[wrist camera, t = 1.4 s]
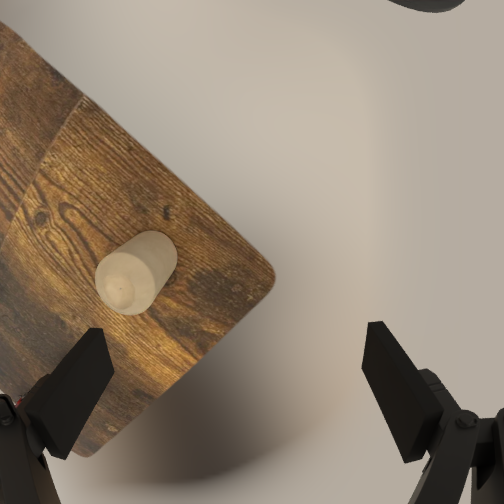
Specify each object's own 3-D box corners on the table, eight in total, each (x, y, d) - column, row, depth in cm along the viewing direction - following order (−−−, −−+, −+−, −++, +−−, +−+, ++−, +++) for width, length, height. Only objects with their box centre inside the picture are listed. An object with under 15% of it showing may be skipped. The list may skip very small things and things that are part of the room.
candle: (120, 244, 33) (75, 276, 23) (161, 220, 32) (124, 245, 22) (146, 287, 34) (112, 332, 24) (187, 266, 33) (163, 307, 24)
